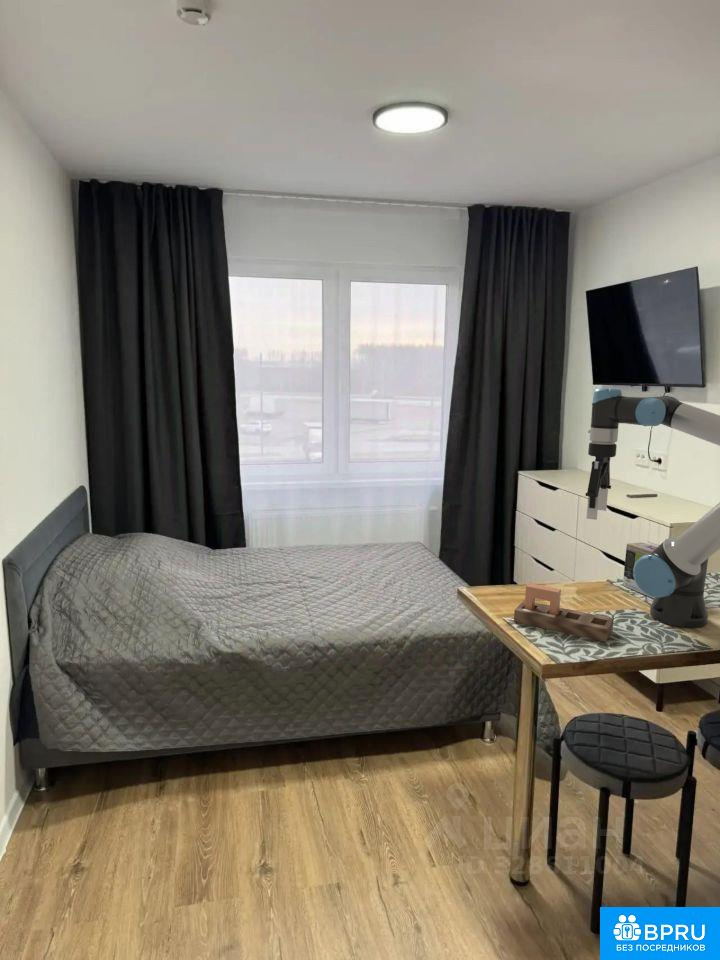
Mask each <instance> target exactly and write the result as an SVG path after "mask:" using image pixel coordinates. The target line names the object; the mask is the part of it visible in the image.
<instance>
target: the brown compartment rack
mask: <svg viewBox="0 0 720 960" xmlns="http://www.w3.org/2000/svg"><path fill="white" fill-rule="evenodd" d="M549 610H550V604H549V605H548V604H544V603H540V602H535V607H534V611H531V610H527V609H525V599H524V600H523V601H522V602H521V603H519V605H518V606H517V607H516V608H515V609H514V611H513V613H514V614H513V622H514V623H518V624H523V625H526V626H527V625H528V626H531V627H535V628H540V627H541V629H545V628H546V629H545V630H549V629H551V630H550V631H555V632H558V631H559V633H563V632H564V633H563V634H567V633H568V635H573V636H576V635H577V636H578V637H581V638H585V637H586V638H585V639H590V638H591V639H590V640H594V639H595V641H600V642H603V641H604V643H607V642H606V641H608V640H609V637H610V636H611V634H612V632H613V629H614V628H613V627H614V621H615V619H614V618H613V617H607V616H602V615H599V614H593V613H590V612H589V613H588V612H583V611H579V610H578V611H577V610H574V609H568V608H563V607H560V608H559V616H555V615H550V614H549ZM607 639H608V640H607Z"/></svg>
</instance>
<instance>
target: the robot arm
mask: <svg viewBox="0 0 720 960" xmlns="http://www.w3.org/2000/svg"><path fill="white" fill-rule="evenodd" d="M590 421H591V422H590V429H588V431H587V432H588V434H589V441H591V442H589V443H588V451H587V452H588V455H589V456H591V457H595V459H594V460H593V461H592V462H591V470H590V475H589V480H588V487H587V491H586V493H585V496H586V497H587V498H588V499H587V508H586V509H587V510H586V519H588V520H596V521H597V520H598V511H602V512H603V511H604V512H606V511H607V506H608V496H609V495H608V494H609V490H611V489H612V485H611V477H610V476H611V475H610V474H611V473H610V472H611V471H610V470H611V469H610V467H611V466H610V465H611V463H610V462H611V458H614V457H616V455H617V445H618V444H617V442H618V438H619V424H626V425H637V426H643V427H658V426H659V425H662V426H665V427H668V428H672V429H674V430H677V431H679V432H682V433H685V434H686V435H690V436H692V437H695V438H698V439H700V440H703V441H705V442H709V443H711V444H714V445H716V446H718V447H720V415H719V414H716V413H714V412H711V411H708V410H705V409H703V408H699V407H696V406H693V405H691V404H687V403H684V402H682V401H680V400H679V399H678V398H676V397H674V396H669V395H661V396H645V397H644V396H643V397H642V396H640V397H639V396H624V395H623V393H622V389H620V388H611V387H610V388H608V387H606V388H605V387H602V388H601V387H600V388H599V387H598V388H596V389H594V391H593V396H592V401H591V419H590ZM658 545H659V546H658V547H657V548H656V549H655V550H653V551H652V552H651V553H650V554H648V555H644V556H642V557H641V558H640V559H638V560H637V561H636V563H635V565H634V568H633V574H634V580H635V582H636V584H637V586H638V587H639V588H640V589H641V590H642V591H643V592H644V593H646V594H647V595H649V596H652V597H655V598H653V600H652V603H651V604H650V607H649V614H650V616H651V618H653V619H655V620H656V621H658V622H661V623H663V624H666V625H669V626H674V627H679V628H692V629H694V628H701V627H705V626H706V625H707V624H708V620H709V619H708V618H709V614H708V610H707V605H706V601H705V597H704V596H705V595H704V593H705V587H706V579H707V571H708V563H709V559H710V557H711V556H713V555H714V554H715V553H717V552H718V551H719V550H720V501H719V502H718V503H717V504H716V505H714V506H713V507H712V508H711V509H709V511H708V512H707V513H705V514H704V515H703V516H702V517H701V518H699V519H698V520H697V521H695V523H693V524H692V525H691V526H690V527H689V528H688V529H686V530H684V532H683V533H682V534H681V535H679V536H678V537H677V538H673V537H670V538H669V537H668V538H666V539H664V541H663V542H662V543H661V544H658ZM647 595H646V596H647ZM649 596H648V597H649Z"/></svg>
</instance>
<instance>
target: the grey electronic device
mask: <svg viewBox="0 0 720 960" xmlns="http://www.w3.org/2000/svg"><path fill="white" fill-rule="evenodd" d="M659 545H660V544H657V543H655V542H650V541H642V542H632V543H631V542H630V543H626V548H625V558H624V571H623V579H622V581H623V582H622V586H624V587H626V588H628V589H631V590H633V591H635V592H638V593H640V594H642V595H645V596H647V597H650V598H651V599H654V598H655V597H652V596H649V595H647V594H646V593H644V592H643V591H642V590H641V589H640V588H639V587H638V586H637V584H636V582H635V580H634V574H633V568H634V565H635V563H636V561H637V560H638V559H640V558H641V557H642V556H644V555H648V554H650V553H651V552H652V551H653V550H655V549H656V548H657V547H658V546H659Z"/></svg>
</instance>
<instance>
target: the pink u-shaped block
mask: <svg viewBox="0 0 720 960" xmlns="http://www.w3.org/2000/svg"><path fill="white" fill-rule="evenodd" d="M561 591H562V589H561V588H555V587H552V586H551V587H550V586H545V585H540V584H536V583H531V582H530V583H527V585H526V586H525V596H524V598H525V599H524V600H525V609H527V610H531V611H534V607H535V603H536V600H542V601H545V602H546V601H547V602H549V605H550V610H549V614H550V615H555V616H559V608H561V595H562V594H561V593H562V592H561Z"/></svg>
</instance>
